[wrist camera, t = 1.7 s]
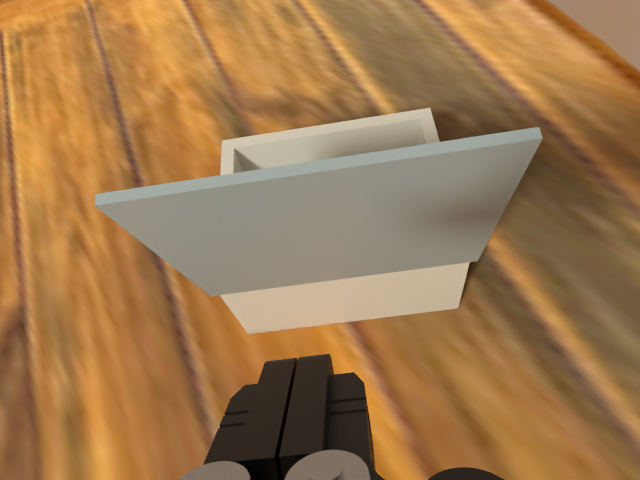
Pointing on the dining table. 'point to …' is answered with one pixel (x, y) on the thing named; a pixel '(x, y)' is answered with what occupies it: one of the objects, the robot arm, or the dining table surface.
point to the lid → (330, 214)
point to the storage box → (351, 293)
